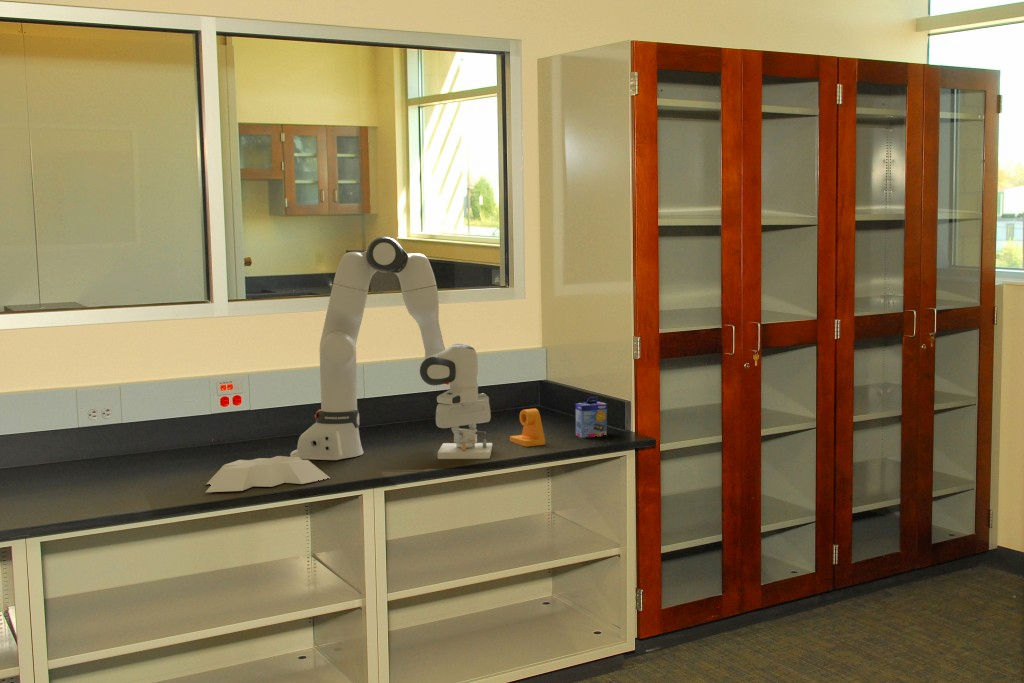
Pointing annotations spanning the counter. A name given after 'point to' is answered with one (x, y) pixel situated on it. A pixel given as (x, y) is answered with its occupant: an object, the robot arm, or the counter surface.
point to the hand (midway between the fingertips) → (463, 439)
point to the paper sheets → (264, 473)
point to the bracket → (530, 429)
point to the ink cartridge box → (591, 418)
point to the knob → (468, 437)
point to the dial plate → (465, 451)
